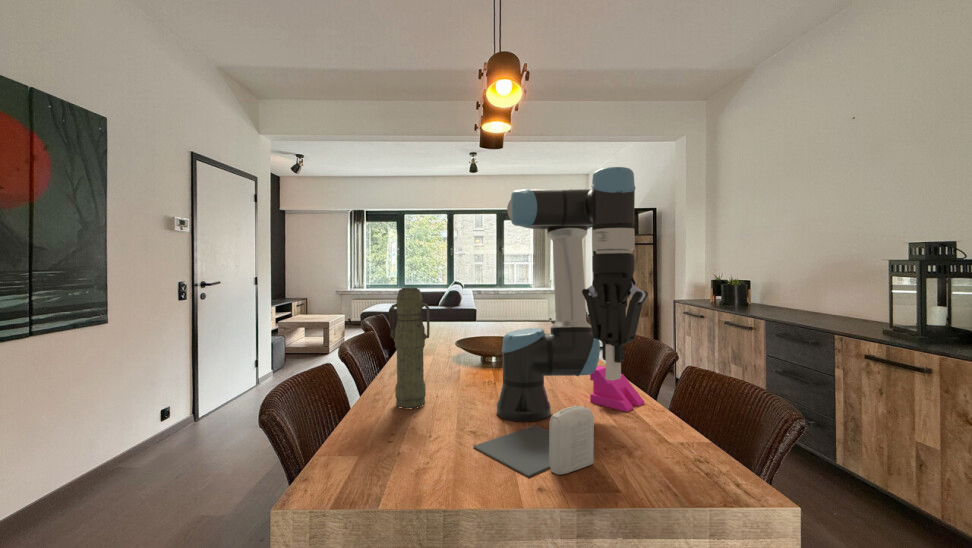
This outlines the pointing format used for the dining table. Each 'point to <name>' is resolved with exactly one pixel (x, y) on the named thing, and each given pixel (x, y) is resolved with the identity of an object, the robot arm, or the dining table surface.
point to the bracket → (613, 391)
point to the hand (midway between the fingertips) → (613, 378)
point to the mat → (520, 450)
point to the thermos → (409, 347)
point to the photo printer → (571, 439)
